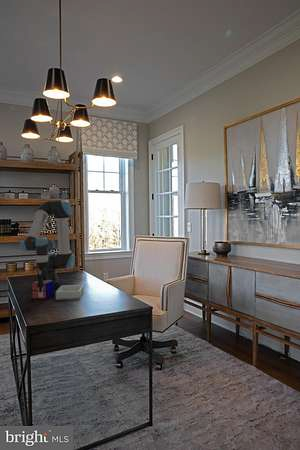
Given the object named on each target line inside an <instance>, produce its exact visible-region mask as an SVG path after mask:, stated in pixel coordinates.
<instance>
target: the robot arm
mask: <svg viewBox="0 0 300 450" xmlns="http://www.w3.org/2000/svg"><path fill="white" fill-rule="evenodd" d="M72 214H73V208H72V205H71V203H70V201H69V200H65V199H56V200H55V199H53V200H46V201H45V202H43V203H42V204H40V205H39V206H38V208H36V211H35V217H34V219H33V222H32V224H31V226H30V228H29V230H28V233H27V236H26V238H25V239H23V240H22V239H21V241H20V242H19V249H20V251H23V252H35V257H34V258H35V261H36V262H35V265H36V266H35V268H36V269H39V270H38V271H37V281H38V283H37V287H38V293H39V297H43V287H42V286H43V280H53V284H57V283H59V277H58V275H57V271H56V270H71V269H73V268H74V266H75V262H76V256H75V254H74V253H73V252H72V250H71V247H70V246H71V245H70V233H69V231H70V230H69V219H70V218H71V217H70V216H72ZM50 216H52V217H53V218H54V220H55V221H56V231H57V247H58V248H57V249H58V251H56V252H49V251H52V250H53V249H54V248H55V247H56V243H55V241H54V240H53V239H51V238H47V237H40V235H41V232H42V230H43V227H44V225H45V222H46V220H47V219H48V218H49V217H50Z"/></svg>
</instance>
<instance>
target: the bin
mask: <svg viewBox="0 0 300 450" xmlns="http://www.w3.org/2000/svg"><path fill="white" fill-rule="evenodd" d="M84 287H85V286H84V284H65V285H64V284H63V285H60V286H59V288H57V290H56V291H55V300H56V301H61V300H64V301H65V299H66V300H81V298H82V296H83V294H84V292H85V291H84V289H85V288H84Z"/></svg>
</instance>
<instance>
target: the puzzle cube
mask: <svg viewBox="0 0 300 450" xmlns="http://www.w3.org/2000/svg"><path fill="white" fill-rule="evenodd" d="M37 283H38V280H37V281H33V282H32V283H31V289H32V290H31V293H32V294H31V297H32V299H40V300H41V299H42V300H43V299H44V300H47V299H48V298H52V297H54V295H55V293H54V292H55V291H54V290H55V289H54V284H55V283H54V284H53V280H43V286H42V287H43V297H39V293H38V287H37Z"/></svg>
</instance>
